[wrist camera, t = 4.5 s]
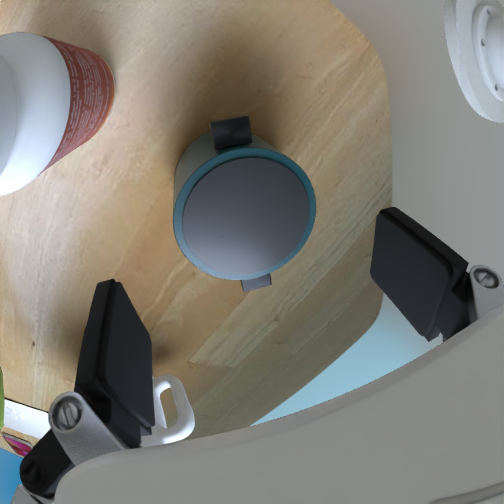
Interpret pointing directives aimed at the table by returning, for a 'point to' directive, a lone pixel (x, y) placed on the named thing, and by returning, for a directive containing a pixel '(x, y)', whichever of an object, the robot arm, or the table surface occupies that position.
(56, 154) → the pill bottle
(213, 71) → the table surface
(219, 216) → the pot
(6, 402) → the paper
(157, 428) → the mug
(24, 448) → the smartphone
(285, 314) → the table surface
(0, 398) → the apple
